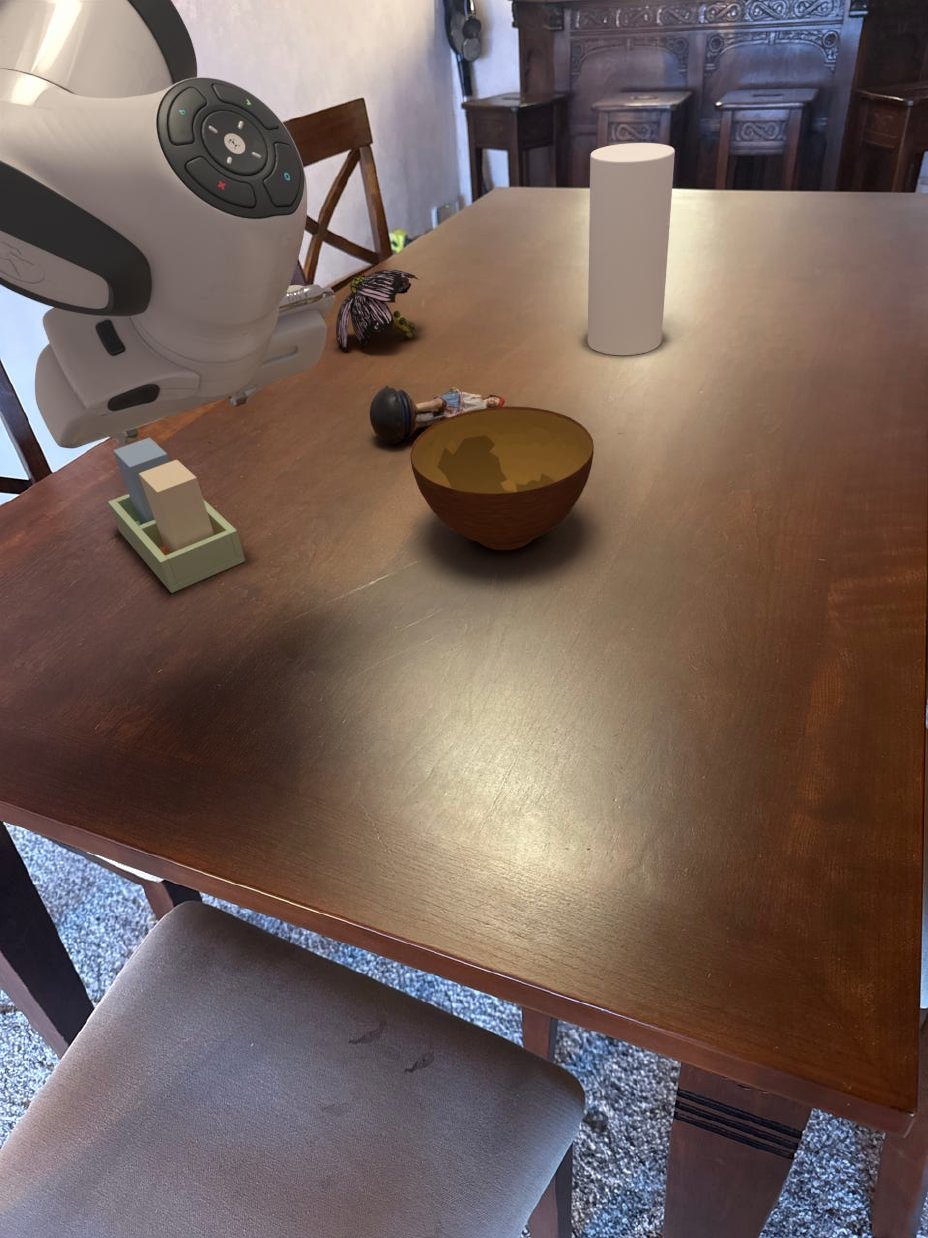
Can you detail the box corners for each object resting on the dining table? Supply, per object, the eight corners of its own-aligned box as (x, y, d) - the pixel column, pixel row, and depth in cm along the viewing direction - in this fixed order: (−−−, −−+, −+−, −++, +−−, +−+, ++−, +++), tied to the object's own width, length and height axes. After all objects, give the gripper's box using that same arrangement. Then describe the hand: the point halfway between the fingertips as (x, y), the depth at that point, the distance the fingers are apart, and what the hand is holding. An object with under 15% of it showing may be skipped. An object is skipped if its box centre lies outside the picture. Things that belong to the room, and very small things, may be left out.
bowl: (586, 588, 81) (587, 496, 75) (404, 580, 84) (391, 491, 78) (596, 491, 94) (598, 406, 88) (438, 487, 98) (430, 405, 91)
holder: (171, 593, 85) (160, 562, 83) (119, 531, 95) (107, 501, 93) (245, 561, 89) (236, 530, 87) (187, 504, 99) (178, 475, 97)
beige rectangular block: (183, 569, 87) (157, 492, 81) (165, 549, 90) (138, 473, 84) (220, 554, 88) (196, 477, 83) (200, 534, 92) (176, 459, 86)
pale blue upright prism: (156, 542, 92) (129, 466, 86) (139, 523, 95) (112, 449, 89) (191, 527, 93) (167, 453, 88) (173, 510, 97) (149, 437, 91)
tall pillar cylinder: (573, 345, 127) (573, 156, 111) (614, 322, 133) (621, 139, 117) (634, 361, 121) (644, 163, 105) (675, 336, 127) (690, 145, 111)
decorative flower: (350, 258, 136) (419, 238, 126) (388, 321, 143) (456, 307, 133) (299, 313, 129) (368, 297, 120) (342, 377, 136) (410, 366, 127)
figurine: (363, 374, 105) (501, 362, 110) (361, 419, 110) (494, 405, 115) (378, 412, 100) (522, 398, 105) (376, 457, 105) (513, 441, 110)
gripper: (319, 240, 59) (281, 342, 72) (13, 319, 50) (31, 420, 63) (362, 321, 59) (317, 409, 71) (63, 415, 50) (71, 497, 63)
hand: (181, 415), depth 67 cm, fingers open, 8 cm apart
